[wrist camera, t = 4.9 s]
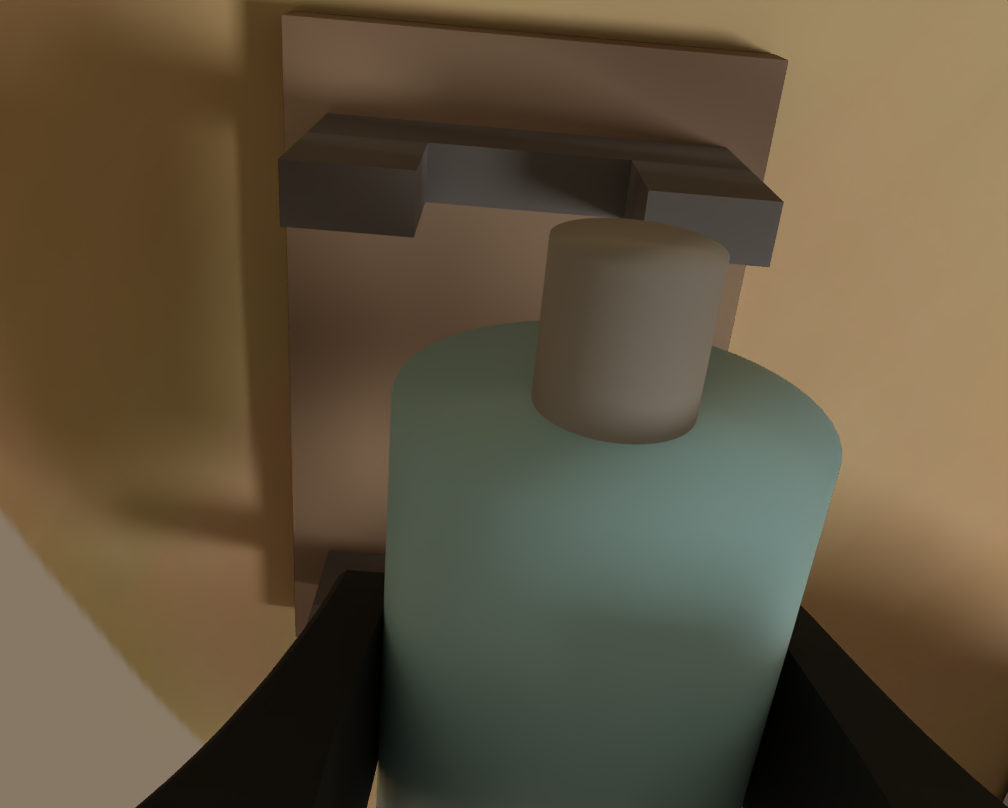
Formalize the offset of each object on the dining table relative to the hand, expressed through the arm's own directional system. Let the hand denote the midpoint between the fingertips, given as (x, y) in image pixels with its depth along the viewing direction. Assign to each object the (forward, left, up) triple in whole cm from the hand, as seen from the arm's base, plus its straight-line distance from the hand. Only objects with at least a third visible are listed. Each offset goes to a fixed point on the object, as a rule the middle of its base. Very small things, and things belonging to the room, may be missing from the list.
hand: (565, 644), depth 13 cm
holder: (0, +1, -9) cm, 9 cm away
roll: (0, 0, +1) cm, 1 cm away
